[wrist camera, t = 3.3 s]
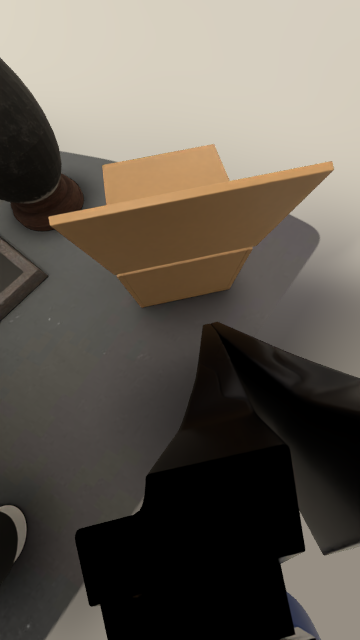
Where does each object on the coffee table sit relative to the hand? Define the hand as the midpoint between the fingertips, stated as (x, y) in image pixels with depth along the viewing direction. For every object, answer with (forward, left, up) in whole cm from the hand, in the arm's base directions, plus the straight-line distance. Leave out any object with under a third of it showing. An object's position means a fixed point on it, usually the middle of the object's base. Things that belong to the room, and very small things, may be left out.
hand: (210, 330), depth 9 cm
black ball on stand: (+33, -8, -11) cm, 36 cm away
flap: (+4, -4, +1) cm, 6 cm away
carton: (+9, -10, -10) cm, 17 cm away
